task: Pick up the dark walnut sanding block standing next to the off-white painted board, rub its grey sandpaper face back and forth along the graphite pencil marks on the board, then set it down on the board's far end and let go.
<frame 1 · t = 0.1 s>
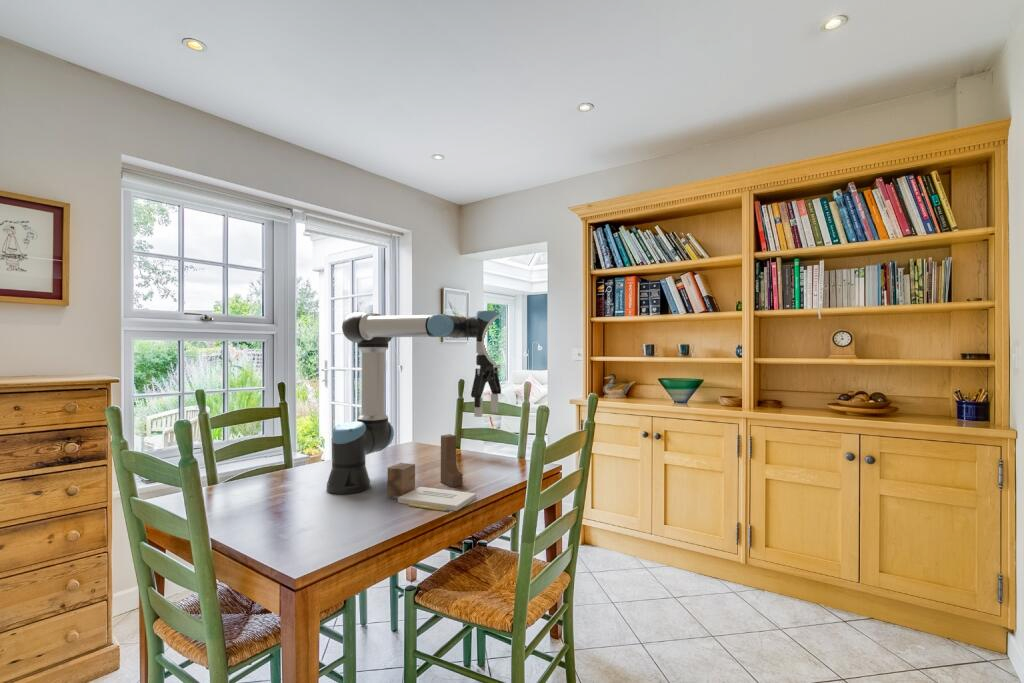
hand: (486, 414, 173), 28 cm above the table, fingers open, 13 cm apart
wooden block: (451, 484, 184), on the table
board: (437, 500, 165), on the table
sanding block: (401, 494, 171), on the table
pencil: (426, 508, 156), on the table
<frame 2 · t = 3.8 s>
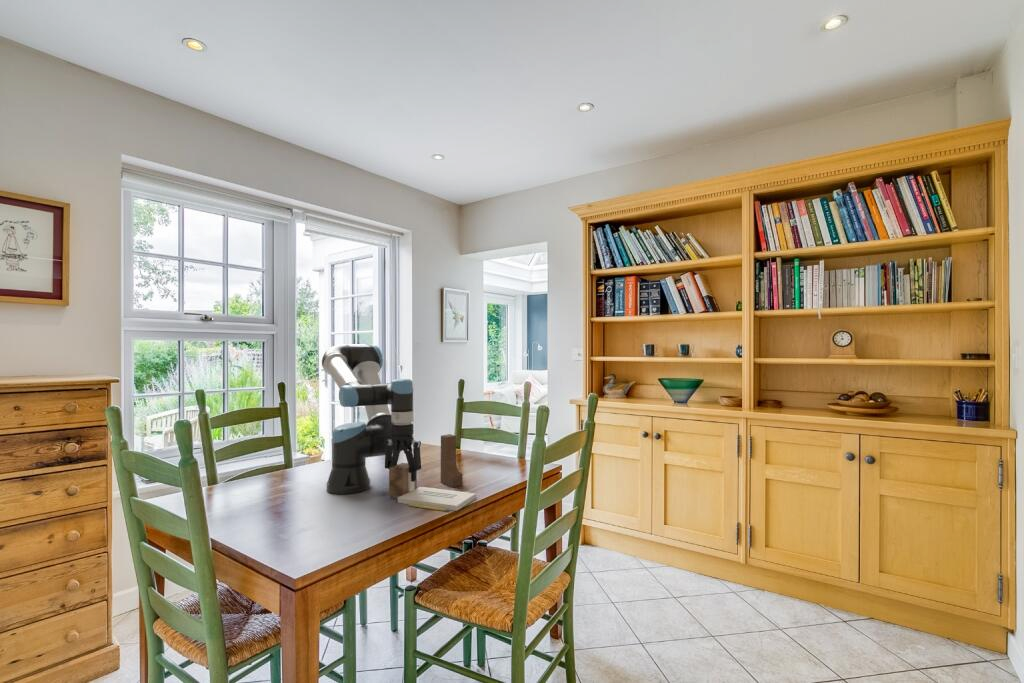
hand: (403, 489, 171), 2 cm above the table, fingers closed on sanding block, 6 cm apart
sanding block: (403, 494, 171), on the table, touching gripper
everything else where it was.
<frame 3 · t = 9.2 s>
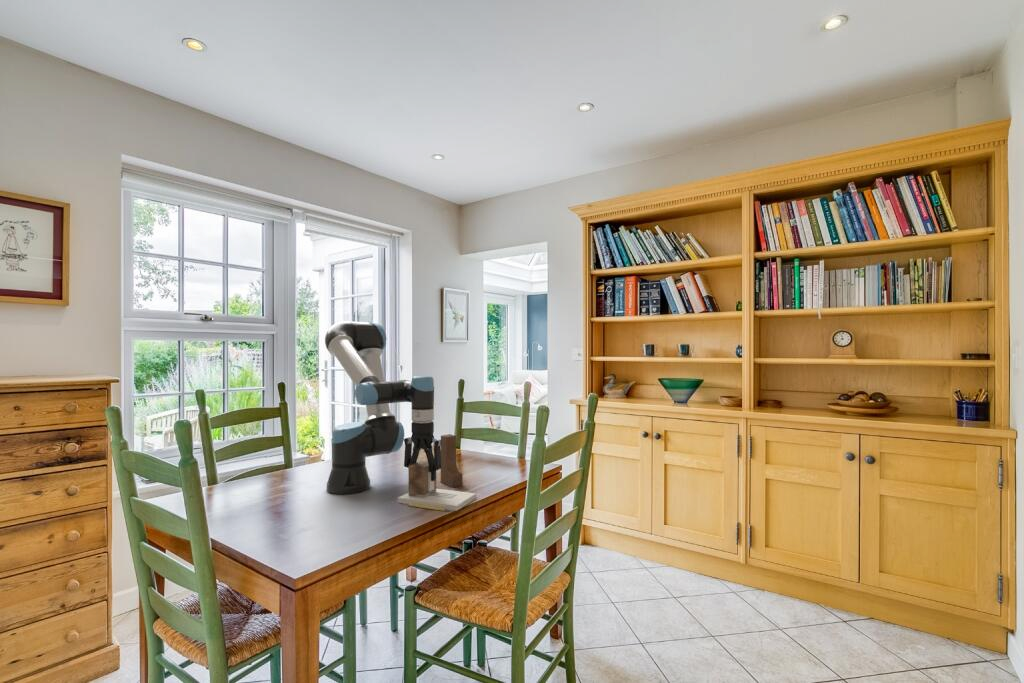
hand: (422, 489, 167), 3 cm above the table, fingers closed on sanding block, 6 cm apart
sanding block: (422, 493, 167), point 2 cm above the table, touching gripper
everything else where it was.
when the fingers open (3 cm above the table, at t = 19.2 s): sanding block stays where it is, resting on board.
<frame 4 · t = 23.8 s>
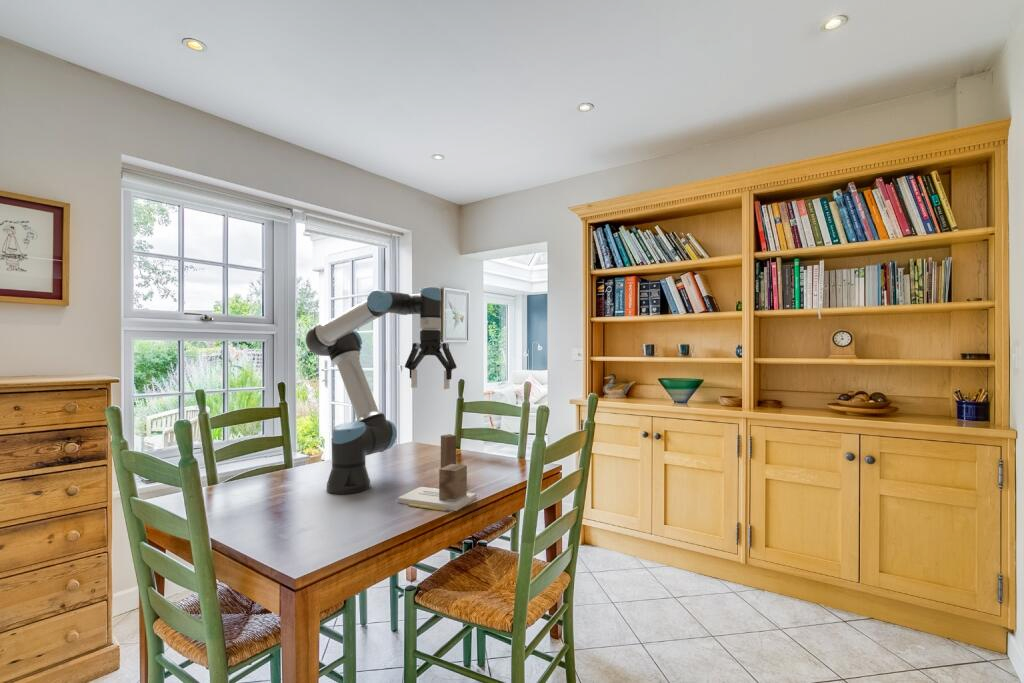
hand: (430, 388, 178), 37 cm above the table, fingers open, 13 cm apart
sanding block: (453, 497, 162), point 2 cm above the table, touching board
everything else where it was.
at the end: sanding block inside the target area (0.5 cm from its centre), point 1.6 cm above the table; sanding block tilted 0°; the gripper is holding nothing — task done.
